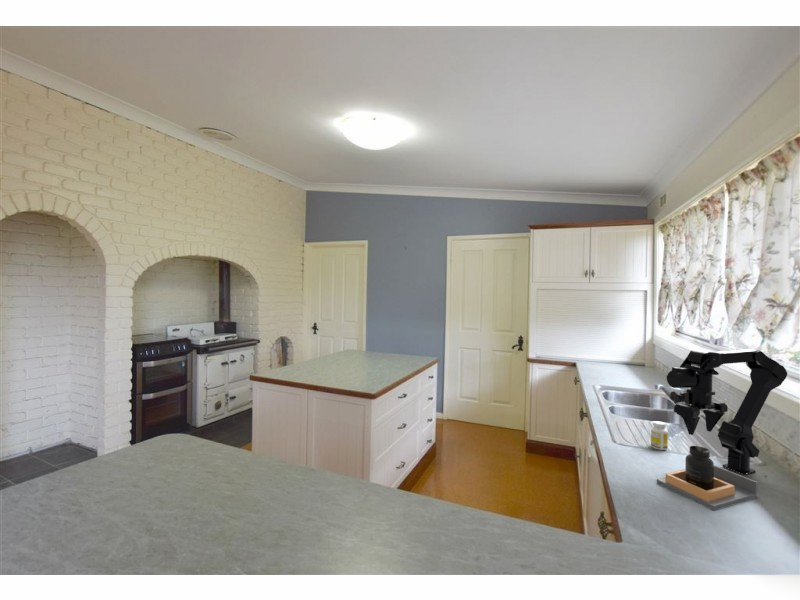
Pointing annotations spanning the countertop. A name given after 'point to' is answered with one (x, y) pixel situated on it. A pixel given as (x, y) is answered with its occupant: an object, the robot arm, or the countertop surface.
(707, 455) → the supplement bottle
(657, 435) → the supplement bottle
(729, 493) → the housing
